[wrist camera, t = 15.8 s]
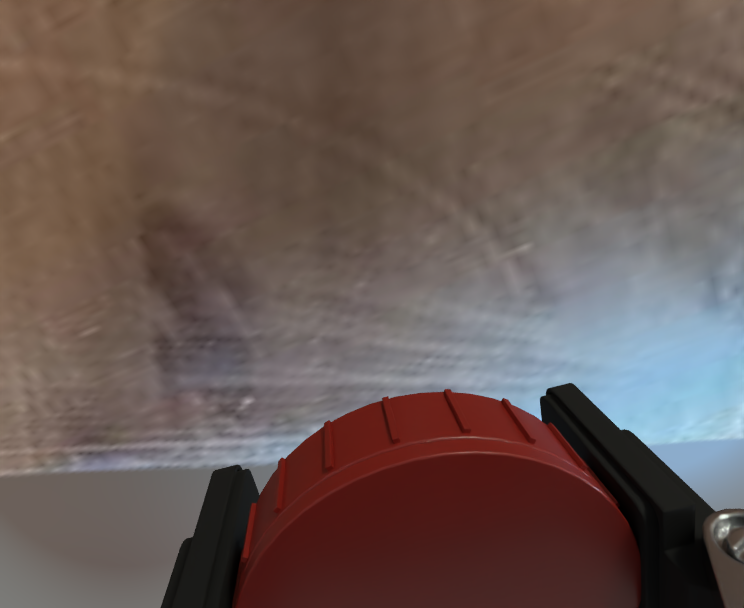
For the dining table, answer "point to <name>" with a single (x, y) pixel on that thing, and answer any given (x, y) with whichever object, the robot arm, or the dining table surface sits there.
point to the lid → (437, 515)
